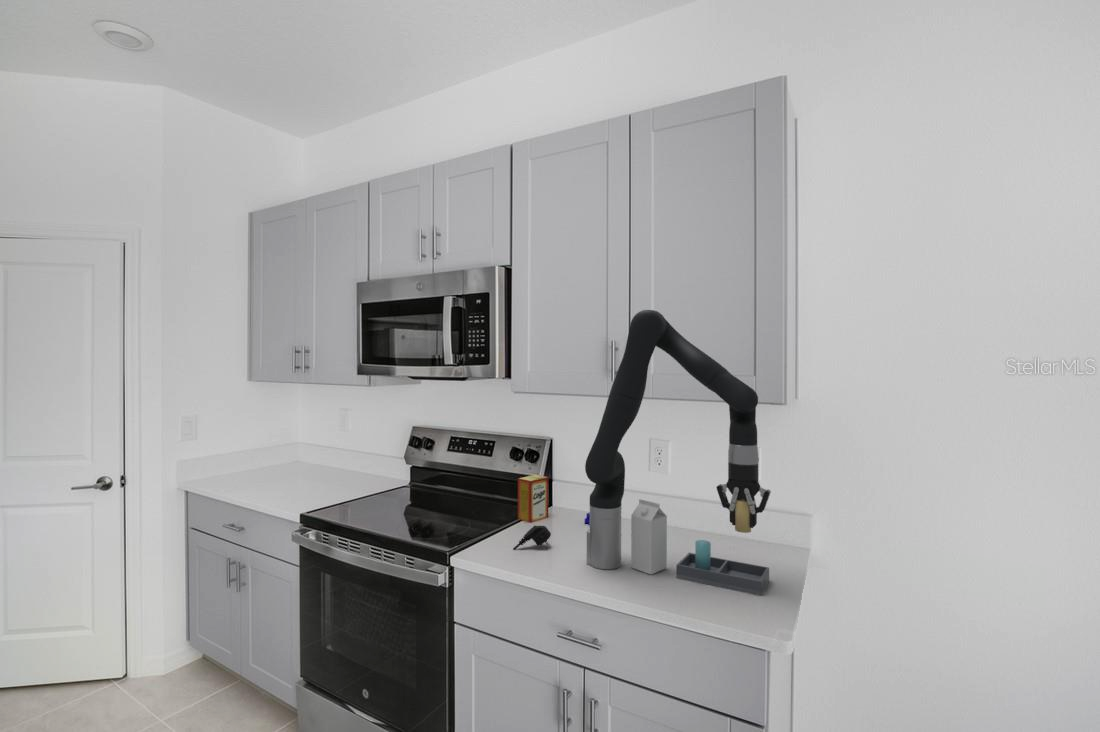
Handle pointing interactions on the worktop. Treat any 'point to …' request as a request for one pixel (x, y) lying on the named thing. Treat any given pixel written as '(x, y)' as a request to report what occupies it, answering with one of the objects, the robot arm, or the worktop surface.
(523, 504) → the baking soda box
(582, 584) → the worktop surface
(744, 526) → the tan rounded cylinder
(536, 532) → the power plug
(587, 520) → the cable holder
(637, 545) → the milk carton
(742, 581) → the grey divided tray
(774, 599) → the worktop surface
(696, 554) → the teal rounded cylinder
